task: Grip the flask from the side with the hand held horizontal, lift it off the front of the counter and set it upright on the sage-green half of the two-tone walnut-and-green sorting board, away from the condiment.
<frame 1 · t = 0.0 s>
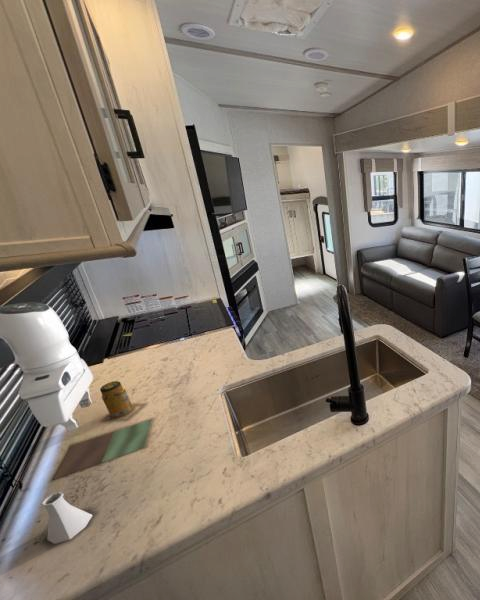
hand: (80, 416, 76), 21 cm above the worktop, tool pointing down, fingers open, 8 cm apart
condiment: (125, 414, 108), on the worktop
flask: (71, 529, 71), on the worktop
sorting board: (108, 447, 94), on the worktop
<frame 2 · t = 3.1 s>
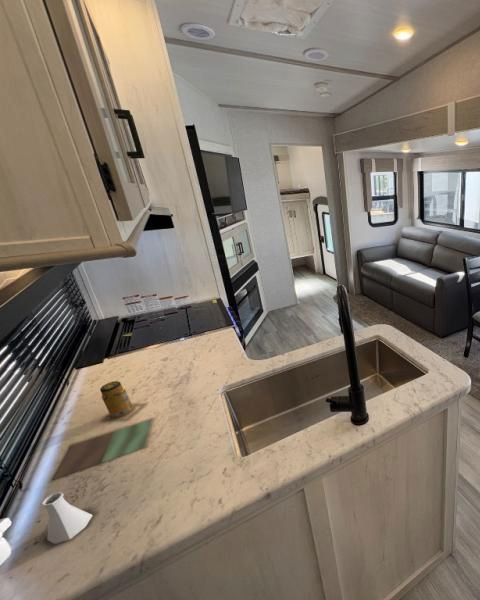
nothing on the worktop moved.
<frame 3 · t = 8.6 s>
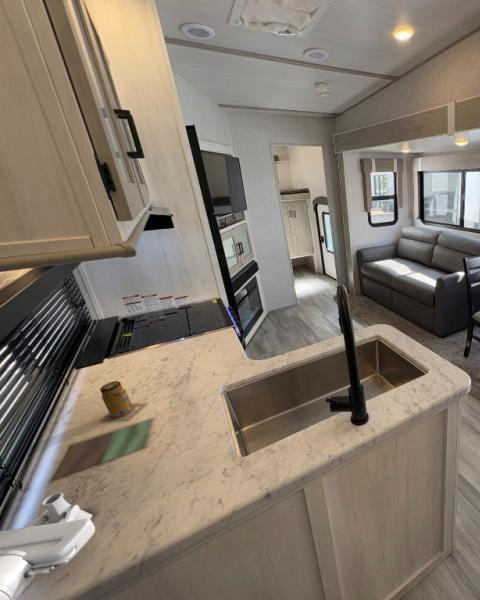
hand: (64, 508, 70), 6 cm above the worktop, tool horizontal, fingers closed on flask, 3 cm apart
flask: (71, 529, 71), on the worktop, touching gripper
everything else where it was.
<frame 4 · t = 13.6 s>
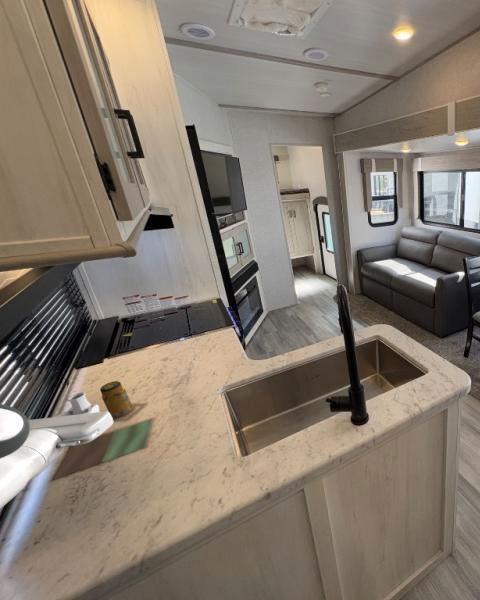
hand: (86, 408, 81), 20 cm above the worktop, tool horizontal, fingers closed on flask, 3 cm apart
flask: (92, 427, 82), point 14 cm above the worktop, touching gripper
everything else where it was.
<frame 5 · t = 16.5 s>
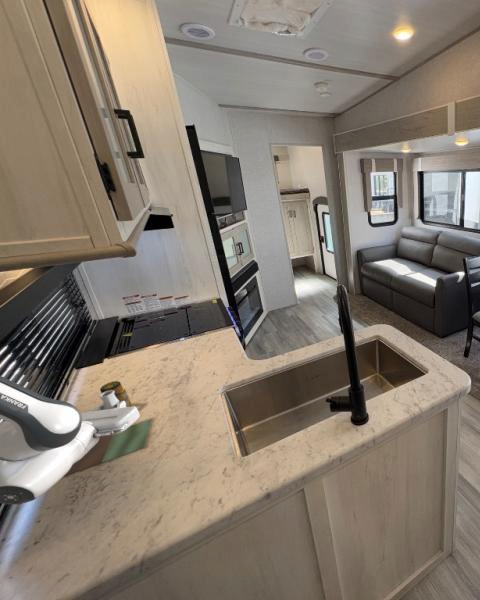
hand: (114, 403, 92), 14 cm above the worktop, tool horizontal, fingers closed on flask, 3 cm apart
flask: (119, 420, 93), point 8 cm above the worktop, touching gripper
everything else where it was.
when the fingers open (6 cm above the worktop, at t = 18.9 s): flask stays where it is, resting on sorting board.
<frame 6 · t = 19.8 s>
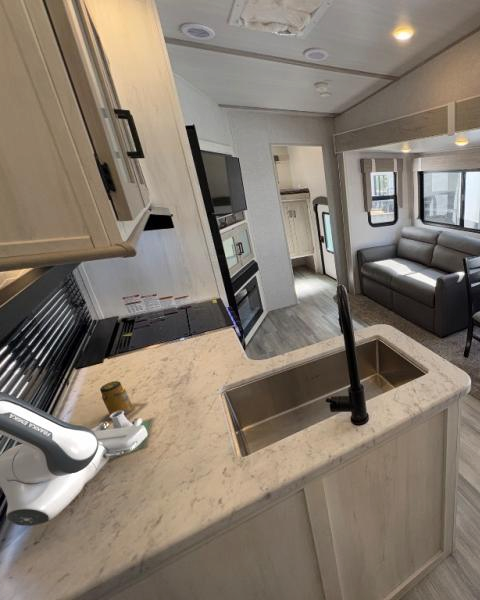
hand: (122, 421, 94), 7 cm above the worktop, tool horizontal, fingers open, 8 cm apart
flask: (128, 439, 96), resting on sorting board
everything else where it was.
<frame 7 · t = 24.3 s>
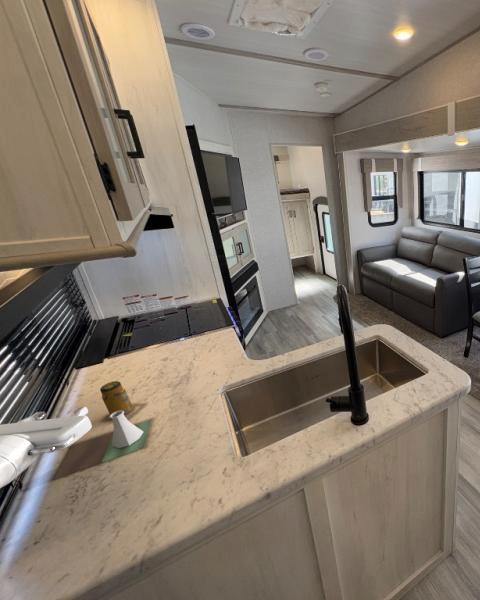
hand: (63, 411, 77), 22 cm above the worktop, tool horizontal, fingers open, 8 cm apart
nothing on the worktop moved.
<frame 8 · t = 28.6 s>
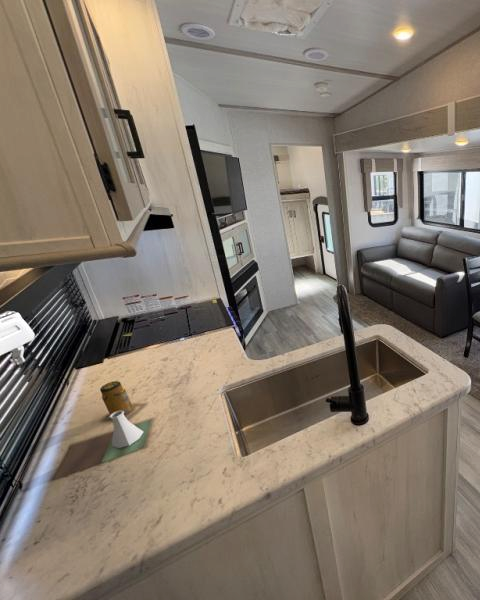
hand: (0, 373, 78), 31 cm above the worktop, tool pointing down, fingers open, 8 cm apart
nothing on the worktop moved.
at the end: flask inside the target area on the sorting board (0.4 cm from its centre), point 0.4 cm above the sorting board's base; flask tilted 0°; the gripper is holding nothing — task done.
